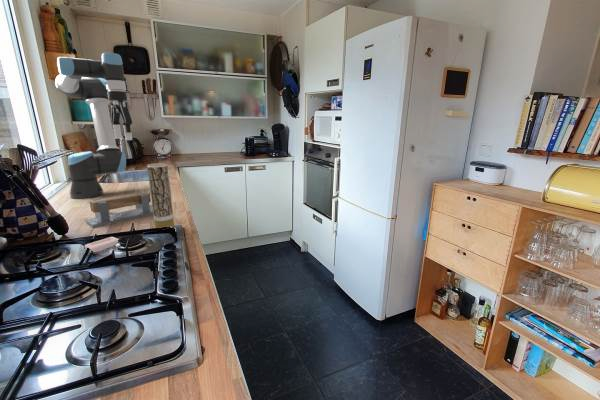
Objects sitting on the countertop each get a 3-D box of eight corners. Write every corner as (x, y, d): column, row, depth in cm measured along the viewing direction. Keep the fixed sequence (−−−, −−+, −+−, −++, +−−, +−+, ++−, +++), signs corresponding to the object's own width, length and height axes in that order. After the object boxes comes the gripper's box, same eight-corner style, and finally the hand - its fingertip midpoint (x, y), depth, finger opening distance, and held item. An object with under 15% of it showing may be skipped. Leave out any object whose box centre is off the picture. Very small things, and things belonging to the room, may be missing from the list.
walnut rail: (91, 210, 124) (89, 201, 123) (147, 200, 140) (146, 191, 139) (94, 212, 121) (92, 203, 120) (150, 202, 137) (149, 193, 136)
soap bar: (122, 245, 104) (121, 239, 103) (92, 255, 97) (91, 248, 96) (113, 242, 107) (112, 235, 106) (84, 251, 99) (83, 244, 99)
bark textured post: (167, 232, 115) (159, 166, 109) (151, 230, 117) (142, 165, 110) (177, 225, 122) (171, 163, 115) (162, 224, 123) (155, 162, 116)
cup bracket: (85, 221, 126) (81, 200, 123) (150, 208, 144) (147, 190, 142) (92, 227, 119) (88, 205, 117) (159, 213, 138) (157, 193, 135)
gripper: (98, 92, 142) (105, 138, 148) (117, 89, 126) (124, 141, 132) (116, 93, 148) (122, 137, 153) (136, 90, 131) (142, 140, 137)
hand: (123, 139), depth 142 cm, fingers open, 13 cm apart
